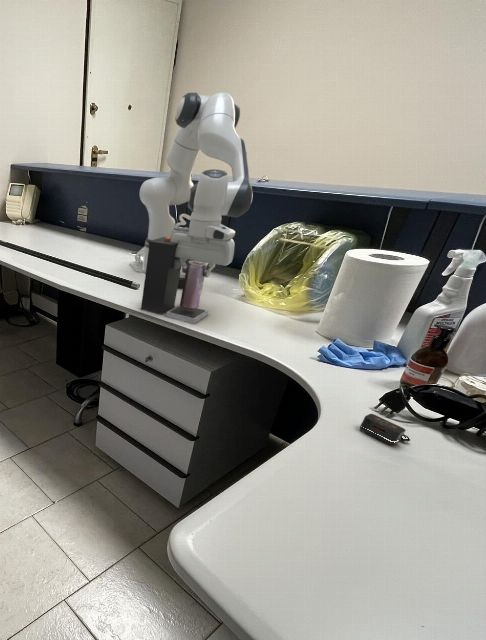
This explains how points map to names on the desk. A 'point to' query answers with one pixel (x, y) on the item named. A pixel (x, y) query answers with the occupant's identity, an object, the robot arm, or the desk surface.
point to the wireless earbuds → (383, 429)
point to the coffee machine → (165, 282)
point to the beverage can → (192, 285)
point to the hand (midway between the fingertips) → (195, 274)
